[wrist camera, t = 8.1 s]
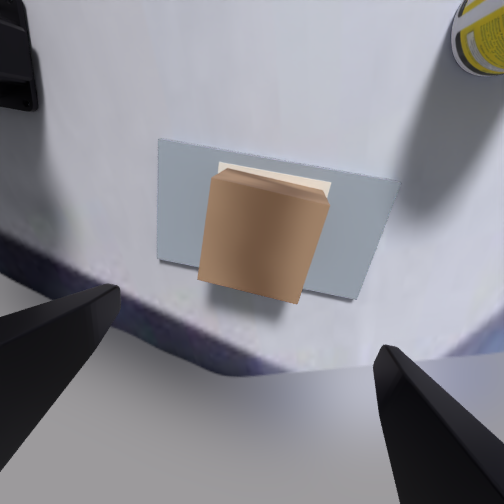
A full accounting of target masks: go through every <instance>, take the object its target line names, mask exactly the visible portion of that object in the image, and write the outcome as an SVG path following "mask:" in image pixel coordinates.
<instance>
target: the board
mask: <svg viewBox="0 0 504 504" xmlns="http://www.w3.org/2000/svg"><path fill="white" fill-rule="evenodd" d="M226 168H230V169H234V170H238V171H243V172H247V173H251V174H255V175H260V176H264V177H268V178H273V179H277V180H281V181H286V182H290V183H294V184H298V185H303V186H307V187H311V188H316V189H320V190H323V191H324V193H325V196H326V198H327V200H328V202H329V204H330V208H329V211H328V214H327V217H326V220H325V223H324V226H323V229H322V232H321V235H320V238H319V241H318V244H317V247H316V250H315V253H314V256H313V259H312V262H311V265H310V268H309V271H308V274H307V277H306V280H305V283H304V286H303V289H306V290H311V291H316V292H321V293H326V294H330V295H335V296H340V297H345V298H350V299H355V300H357V298H358V295H359V293H360V290H361V287H362V285H363V282H364V280H365V277H366V274H367V272H368V269H369V266H370V264H371V261H372V259H373V256H374V253H375V251H376V248H377V246H378V243H379V240H380V238H381V235H382V233H383V230H384V227H385V225H386V222H387V219H388V217H389V214H390V212H391V209H392V206H393V204H394V201H395V199H396V196H397V193H398V191H399V188H400V186H401V182H399V181H394V180H389V179H383V178H378V177H372V176H367V175H361V174H356V173H350V172H344V171H339V170H333V169H328V168H322V167H317V166H311V165H306V164H300V163H294V162H289V161H283V160H278V159H272V158H267V157H261V156H256V155H250V154H245V153H239V152H233V151H228V150H222V149H217V148H211V147H206V146H200V145H195V144H189V143H184V142H178V141H172V140H167V139H158V197H157V259H161V260H166V261H170V262H175V263H180V264H185V265H190V266H195V267H199V264H200V257H201V249H202V242H203V235H204V228H205V220H206V213H207V206H208V198H209V191H210V184H211V177H213V176H215V175H216V174H218V173H220V172H221V171H223V170H225V169H226Z"/></svg>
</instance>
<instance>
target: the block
mask: <svg viewBox="0 0 504 504" xmlns="http://www.w3.org/2000/svg"><path fill="white" fill-rule="evenodd" d="M329 208H330V204H329V202H328V200H327V198H326V196H325V193H324V191H323V190H320V189H316V188H311V187H307V186H303V185H298V184H294V183H290V182H286V181H281V180H277V179H273V178H268V177H264V176H260V175H255V174H251V173H247V172H243V171H238V170H234V169H230V168H226V169H225V170H223V171H221V172H220V173H218V174H216V175H215V176H213V177H211V184H210V191H209V198H208V206H207V213H206V220H205V228H204V235H203V242H202V249H201V257H200V264H199V271H198V279H197V280H201V281H205V282H209V283H213V284H217V285H221V286H225V287H229V288H233V289H237V290H241V291H245V292H249V293H253V294H257V295H261V296H265V297H269V298H273V299H277V300H281V301H285V302H289V303H293V304H298V301H299V298H300V295H301V292H302V289H303V286H304V283H305V280H306V277H307V274H308V271H309V268H310V265H311V262H312V259H313V256H314V253H315V250H316V247H317V244H318V241H319V238H320V235H321V232H322V229H323V226H324V223H325V220H326V217H327V214H328V211H329Z"/></svg>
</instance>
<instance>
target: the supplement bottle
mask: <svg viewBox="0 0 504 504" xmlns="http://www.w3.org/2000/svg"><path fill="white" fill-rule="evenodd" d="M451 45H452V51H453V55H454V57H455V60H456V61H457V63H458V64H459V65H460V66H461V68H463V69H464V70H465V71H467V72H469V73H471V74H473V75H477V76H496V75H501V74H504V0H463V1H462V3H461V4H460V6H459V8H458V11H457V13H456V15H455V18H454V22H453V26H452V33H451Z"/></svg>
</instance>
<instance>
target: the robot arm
mask: <svg viewBox="0 0 504 504" xmlns="http://www.w3.org/2000/svg"><path fill="white" fill-rule="evenodd" d="M28 101H29V103H30V106H29V105H28ZM0 107H6V108H11V109H17V110H22V111H29V112H35V111H37V109H38V101H37V95H36V88H35V82H34V75H33V69H32V62H31V55H30V49H29V42H28V36H27V29H26V23H25V16H24V10H23V3H22V0H12V3H11V0H0ZM120 308H121V296H120V288H119V286H117V285H113V284H103V285H100V286H97V287H94V288H91V289H87V290H84V291H81V292H78V293H75V294H72V295H68V296H65V297H62V298H59V299H56V300H53V301H50V302H47V303H43V304H40V305H37V306H34V307H31V308H27V309H25V310H21V311H18V312H15V313H12V314H9V315H5V316H2V317H0V472H1V470H2V469H3V468H4V466H5V465H6V464H7V463H8V461H9V460H10V459H11V457H12V456H13V455H14V454H15V452H16V451H17V450H18V448H19V447H20V446H21V445H22V443H23V442H24V441H25V439H26V438H27V437H28V436H29V434H30V433H31V432H32V430H33V429H34V428H35V427H36V425H37V424H38V423H39V421H40V420H41V419H42V418H43V416H44V415H45V414H46V413H47V411H48V410H49V409H50V407H51V406H52V405H53V403H54V402H55V401H56V400H57V398H58V397H59V396H60V394H61V393H62V392H63V391H64V389H65V388H66V387H67V386H68V384H69V383H70V382H71V380H72V379H73V378H74V377H75V375H76V374H77V373H78V371H79V370H80V369H81V368H82V366H83V365H84V364H85V362H86V361H87V360H88V359H89V357H90V356H91V355H92V353H93V352H94V351H95V349H96V348H97V346H98V345H99V343H100V342H101V340H102V338H103V337H104V335H105V334H106V332H107V331H108V329H109V327H110V326H111V324H112V323H113V321H114V319H115V318H116V316H117V315H118V313H119V311H120ZM373 372H374V380H375V388H376V395H377V403H378V410H379V416H380V421H381V426H382V430H383V434H384V438H385V442H386V446H387V450H388V455H389V459H390V463H391V467H392V471H393V476H394V480H395V484H396V488H397V492H398V496H399V501H400V504H504V444H503V442H502V441H501V440H499V439H498V438H497V437H496V436H495V435H494V434H493V433H492V432H491V431H489V430H488V429H487V428H486V427H485V426H484V425H483V424H481V422H480V421H478V420H477V419H476V418H475V417H474V416H473V415H472V414H471V413H470V412H468V411H467V410H466V409H465V408H464V407H463V406H462V405H461V404H460V403H458V402H457V401H456V400H455V399H454V398H453V397H452V396H451V395H450V394H448V393H447V392H446V391H445V390H444V389H443V388H442V387H441V386H440V385H439V384H437V383H436V382H435V381H434V380H433V379H432V378H431V377H429V375H427V374H426V373H425V372H424V371H423V370H422V369H421V368H420V367H419V366H418V365H416V364H415V363H414V362H413V361H412V360H411V359H410V358H409V357H408V356H406V355H405V354H404V353H403V352H402V351H401V350H400V349H399V348H397V347H395V346H390V345H383V346H382V347H381V349H380V351H379V353H378V355H377V357H376V359H375V361H374V365H373Z"/></svg>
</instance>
